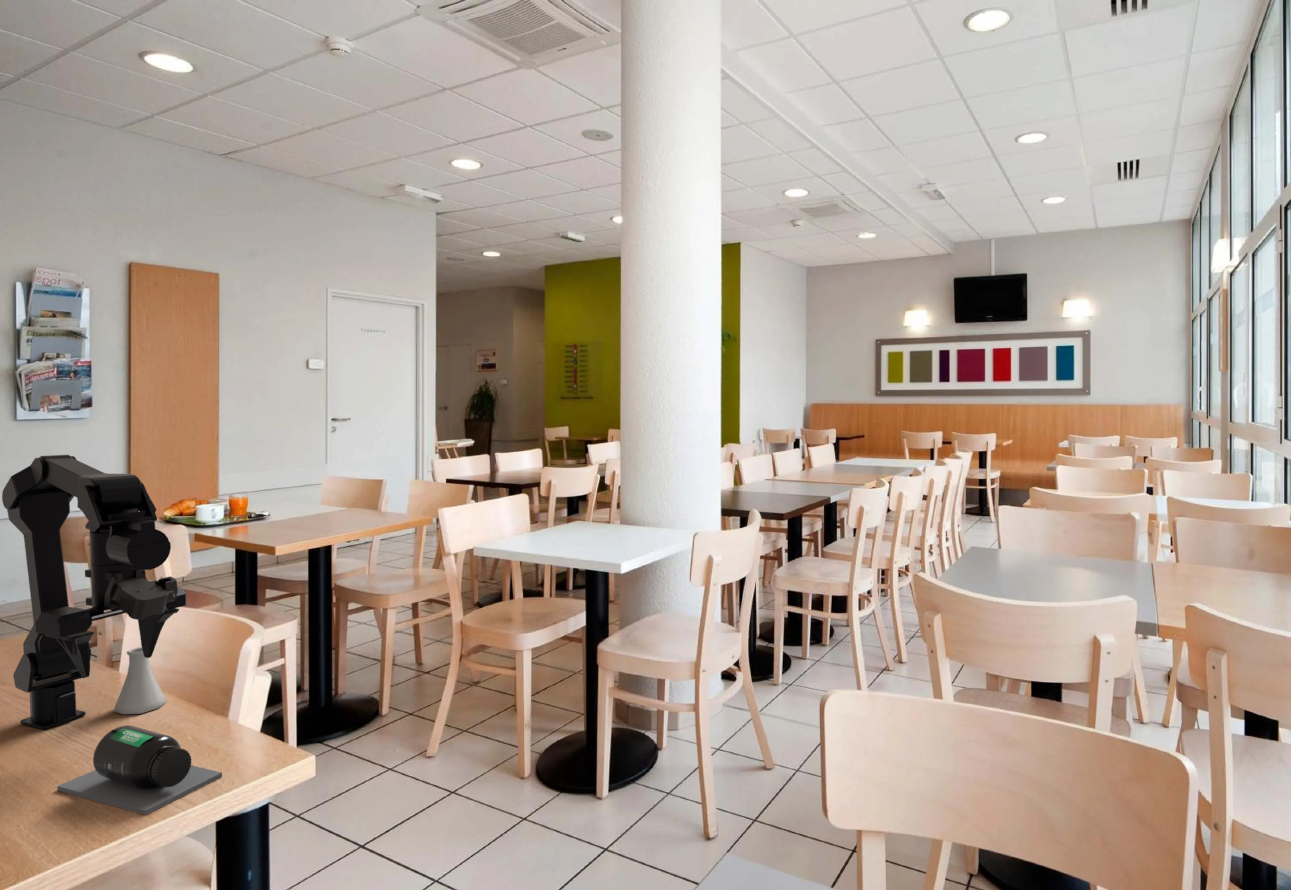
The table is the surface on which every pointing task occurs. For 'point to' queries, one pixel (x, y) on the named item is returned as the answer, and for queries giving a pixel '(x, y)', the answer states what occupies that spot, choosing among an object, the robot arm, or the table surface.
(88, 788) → the placemat
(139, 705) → the flask
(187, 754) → the supplement bottle
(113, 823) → the table surface
